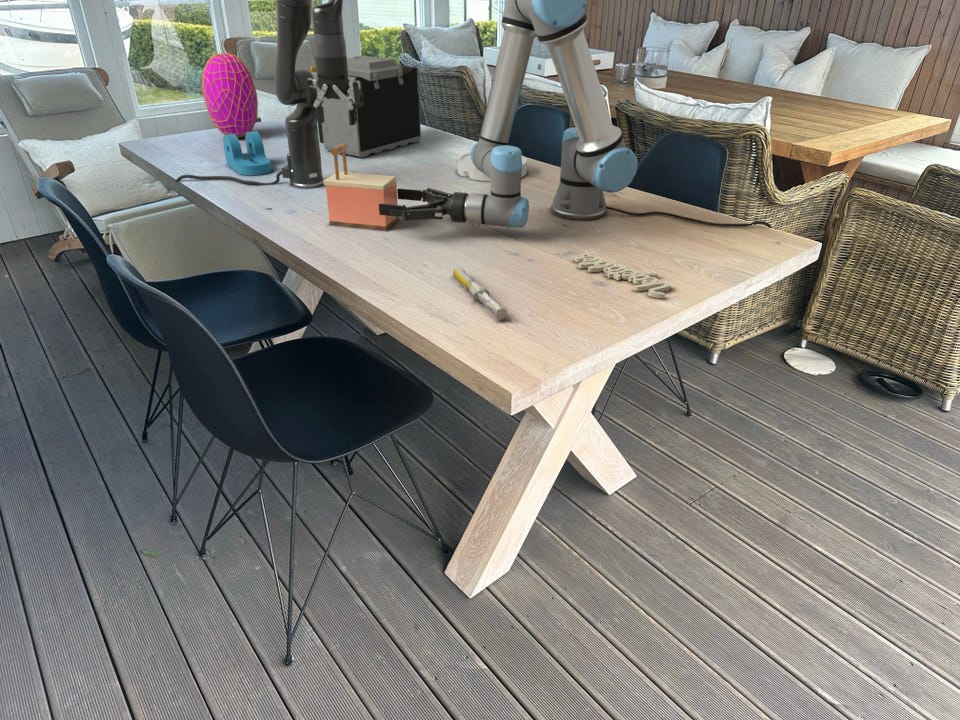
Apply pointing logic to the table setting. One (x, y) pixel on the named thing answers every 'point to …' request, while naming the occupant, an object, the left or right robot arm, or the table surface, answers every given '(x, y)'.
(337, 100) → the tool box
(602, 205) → the right robot arm
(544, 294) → the table surface
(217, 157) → the table surface
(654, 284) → the decorative sign
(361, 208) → the chest
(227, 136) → the camera mount
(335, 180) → the lid
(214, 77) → the decorative egg
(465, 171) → the ashtray
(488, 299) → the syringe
